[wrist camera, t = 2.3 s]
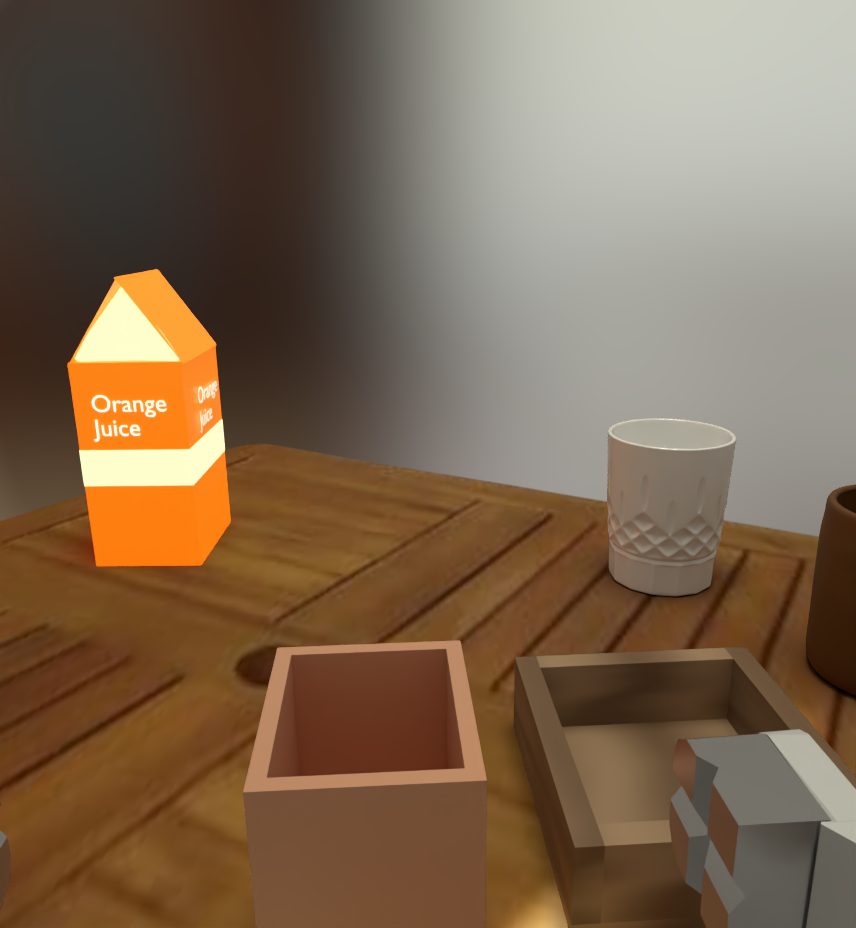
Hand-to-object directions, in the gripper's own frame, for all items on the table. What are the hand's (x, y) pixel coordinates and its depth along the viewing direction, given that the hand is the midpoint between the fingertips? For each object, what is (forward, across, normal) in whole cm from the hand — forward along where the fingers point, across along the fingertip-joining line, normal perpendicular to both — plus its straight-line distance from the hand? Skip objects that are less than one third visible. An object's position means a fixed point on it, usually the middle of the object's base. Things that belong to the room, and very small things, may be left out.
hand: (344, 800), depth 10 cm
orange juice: (+50, +16, +16) cm, 55 cm away
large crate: (+19, -12, +17) cm, 28 cm away
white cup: (+41, -19, +17) cm, 48 cm away
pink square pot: (+12, 0, +17) cm, 21 cm away
